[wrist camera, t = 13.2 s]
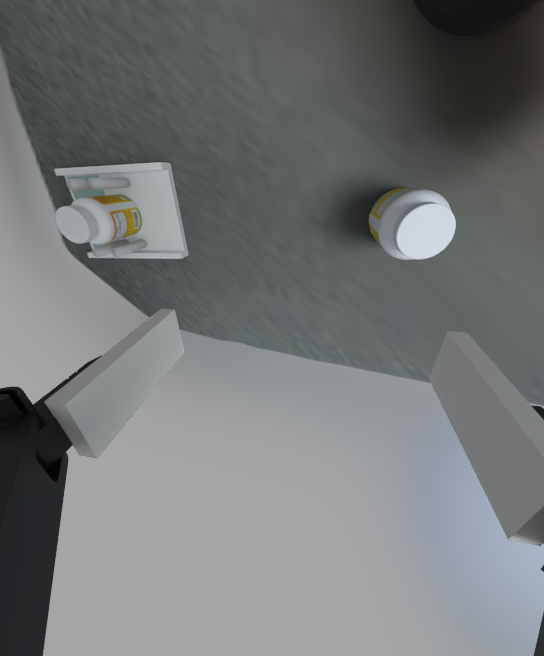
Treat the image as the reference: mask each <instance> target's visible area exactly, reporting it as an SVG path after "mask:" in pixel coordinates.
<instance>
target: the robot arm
mask: <svg viewBox="0 0 544 656" xmlns="http://www.w3.org/2000/svg"><path fill="white" fill-rule="evenodd" d="M540 1H541V0H414V2H415V4H416V6H417V8H418V9H419V11H420V12H421V13H422V15H423V16H424V17H425V18H426V19H427V20H428V21H429V22H430V23H431V24H432V25H434V26H435V27H437V28H438V29H440V30H442V31H445V32H448V33H451V34H455V35H476V34H482V33H486V32H489V31H492V30H495V29H497V28H500V27H502V26H504V25H506V24H508V23H510V22H512V21H514V20H515V19H517V18H519V17H520V16H522V15H523V14H525V13H526V12H528V11H529V10H530V9H532V8H533V7H534V6H535V5H537V4H538V3H539V2H540ZM183 353H184V348H183V344H182V340H181V336H180V331H179V326H178V322H177V318H176V314H175V310H172V309H160V310H159V311H158V312H157V313H155V314H154V315H153V316H151V317H150V318H149V319H148V320H146V321H145V322H144V323H143V324H142V325H140V326H139V327H138V328H136V329H135V330H134V331H133V332H131V333H130V334H129V335H128V336H126V337H125V338H124V339H123V340H121V341H120V342H119V343H118V344H116V345H115V346H114V347H112V348H111V349H110V350H109V351H108V352H106V353H105V354H104V355H102V356H99V357H98V358H95V359H93V360H92V361H90V362H88V363H86V364H85V365H84V366H83V367H81V368H80V369H79V370H78V371H77V372H75V373H74V374H72V375H71V376H70V377H69V379H66V380H65V381H63V382H62V383H61V384H59V385H58V386H57V387H56V388H54V389H53V390H52V391H50V392H49V393H48V394H46V395H45V396H44V397H43V398H41V399H40V400H39V401H38V402H36V403H35V404H34V405H33V404H32V403H31V402H30V400H29V399H28V397H27V396H26V394H25V393H24V391H23V390H22V389H21V388H19V387H6V388H1V389H0V656H43V649H44V642H45V634H46V626H47V619H48V611H49V603H50V595H51V588H52V581H53V573H54V565H55V558H56V550H57V543H58V535H59V527H60V519H61V511H62V504H63V497H64V489H65V482H66V474H67V466H68V455H67V453H66V451H67V450H68V449H69V448H70V447H71V446H72V445H73V446H74V448H75V449H76V451H77V452H78V454H79V455H82V456H87V457H92V458H98V457H99V456H100V455H101V453H102V452H103V451H104V450H105V449H106V447H107V446H108V445H109V444H110V442H111V441H112V440H113V439H114V438H115V436H116V435H117V434H118V433H119V431H120V430H121V429H122V428H123V426H124V425H125V424H126V423H127V422H128V420H129V419H130V418H131V417H132V416H133V414H134V413H135V412H136V411H137V409H138V408H139V407H140V406H141V405H142V403H143V402H144V401H145V400H146V398H147V397H148V396H149V395H150V394H151V392H152V391H153V390H154V388H155V387H156V386H157V385H158V384H159V383H160V381H161V380H162V379H163V378H164V376H165V375H166V374H167V373H168V371H169V370H170V369H171V368H172V367H173V365H174V364H175V363H176V362H177V361H178V359H179V358H180V357H181V356H182V354H183ZM429 380H430V382H431V384H432V386H433V388H434V390H435V392H436V394H437V396H438V398H439V400H440V402H441V404H442V406H443V408H444V410H445V412H446V414H447V416H448V418H449V420H450V422H451V424H452V426H453V428H454V430H455V432H456V434H457V437H458V439H459V441H460V443H461V445H462V447H463V449H464V451H465V453H466V455H467V457H468V459H469V461H470V463H471V465H472V467H473V469H474V471H475V473H476V475H477V477H478V479H479V481H480V483H481V485H482V487H483V489H484V491H485V493H486V495H487V497H488V499H489V501H490V503H491V505H492V507H493V509H494V512H495V514H496V516H497V518H498V519H499V522H500V524H501V526H502V528H503V530H504V532H505V534H506V536H507V538H508V540H513V541H518V542H523V543H529V544H533V545H539V546H541V545H542V544H543V543H544V409H543V408H542V407H540V406H532V405H530V404H529V403H528V402H527V400H526V399H525V398H524V397H523V396H522V395H521V394H520V392H519V391H518V390H517V389H516V388H515V387H514V386H513V384H512V383H511V382H510V381H509V380H508V379H507V378H506V376H505V375H504V374H503V373H502V372H501V371H500V370H499V369H498V367H497V366H496V365H495V364H494V363H493V362H492V361H491V359H490V358H489V357H488V356H487V355H486V354H485V353H484V351H483V350H482V349H481V348H480V347H479V346H478V345H477V343H476V342H475V341H474V340H473V339H472V338H471V337H470V336H469V334H468V333H463V332H451V331H448V332H447V335H446V337H445V340H444V342H443V345H442V347H441V350H440V352H439V355H438V357H437V360H436V362H435V365H434V367H433V370H432V373H431V375H430V378H429ZM541 570H542V571H543V572H544V565H543V567H542V568H541ZM534 656H544V613H543V617H542V622H541V627H540V631H539V635H538V639H537V644H536V648H535V653H534Z"/></svg>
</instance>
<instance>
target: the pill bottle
mask: <svg viewBox="0 0 544 656" xmlns="http://www.w3.org/2000/svg"><path fill="white" fill-rule="evenodd" d="M455 227H456V222H455V217H454V215H453V213H452V212H451V209H450V206H449V204H448V202H447V201H446V200H445V198H443V197H442V196H441V195H440V194H438V193H436V192H434V191H431V190H425V189H414V188H397V189H393V190H390V191H388V192H387V193H385V194H383V195H382V196H381V197H380V198H379V199H378V200H377V201H376V202H375V204H374V205H373V207H372V209H371V211H370V215H369V229H370V232H371V234H372V235H373V237H374V238H375V239H376V241H377V242H378V243H379V244H380V245H381V246H382V248H383V249H384V250H385V251H386V252H387V253H388V254H390V255H391V256H393V257H395V258H398V259H404V260H410V259H426V258H429V257H432V256H434V255H436V254H438V253H440V252H441V251H442V250H443V249H444V248H445V247H446V246H447V245H448V244H449V243H450V241H451V239H452V238H453V235H454V232H455Z"/></svg>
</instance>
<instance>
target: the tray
mask: <svg viewBox="0 0 544 656" xmlns="http://www.w3.org/2000/svg"><path fill="white" fill-rule="evenodd" d="M54 171H55V173H56V176H64V177H65V179H66V185H67V187H68V188H69V190H70V192H71V195H72V198H73V200H76V199H78V198H83V197H94V196H106V195H125V196H128V197H129V198H131V199H132V200H134V201H135V202H136V203H137V205H138V206H139V207H140V209H141V211H142V214H143V227H142V229H141V230H140V231H139V232H138V233H136V234H134V235H131V236H128V237H124V238H121V239H118V240H115V241H112V242H108V243H105V244H99V245H98V244H92V243H90V245H91V247H92V251H91V252H88V253H87V254H88V256H89V258H152V259H183V258H184V257H186V256H188V255H189V254H188V249H187V244H186V239H185V234H184V229H183V224H182V219H181V214H180V209H179V204H178V199H177V194H176V189H175V184H174V179H173V174H172V169H171V164H170V163H165V162H156V163H140V164H124V165H107V166H91V167H75V168H59V169H54Z"/></svg>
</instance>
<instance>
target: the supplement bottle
mask: <svg viewBox="0 0 544 656" xmlns="http://www.w3.org/2000/svg"><path fill="white" fill-rule="evenodd" d="M55 217H56V223H57V226H58V228H59V230H60V231H61V233H62V234H63V235H64V236H65V237H66V238H67V239H69V240H70V241H72V242H74V243H79V244H80V243H86V242H89V243H92V244H98V245H99V244H105V243H108V242H112V241H115V240H118V239H121V238H124V237H128V236H131V235H134V234H136V233H138V232H139V231H140V230H141V229H142V227H143V214H142V211H141V209H140V207H139V206H138V205H137V203H136V202H135V201H134V200H132V199H131V198H129V197H128V196H125V195H106V196H94V197H83V198H78V199H76V200H74V201H73V202H72V204H71V205H69V206H63V207H60V208H59V209H58V210H57V212H56V216H55Z"/></svg>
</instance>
